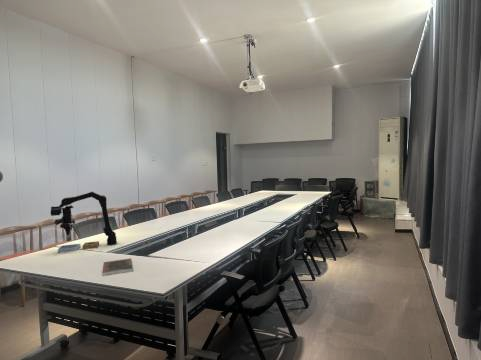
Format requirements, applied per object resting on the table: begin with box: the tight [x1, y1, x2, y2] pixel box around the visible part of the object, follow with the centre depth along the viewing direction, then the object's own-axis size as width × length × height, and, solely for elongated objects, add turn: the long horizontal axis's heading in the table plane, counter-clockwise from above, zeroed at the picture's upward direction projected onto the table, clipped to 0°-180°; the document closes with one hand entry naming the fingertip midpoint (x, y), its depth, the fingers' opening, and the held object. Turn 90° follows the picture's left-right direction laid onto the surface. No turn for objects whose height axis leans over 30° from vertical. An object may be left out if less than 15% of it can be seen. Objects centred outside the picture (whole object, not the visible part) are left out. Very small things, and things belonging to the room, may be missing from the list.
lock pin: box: [65, 230, 73, 242], centre depth 238 cm, size 4×4×10 cm
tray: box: [57, 243, 82, 254], centre depth 239 cm, size 13×11×3 cm
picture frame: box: [101, 258, 134, 277], centre depth 192 cm, size 16×2×22 cm
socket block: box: [82, 240, 100, 251], centre depth 243 cm, size 10×10×4 cm
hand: (68, 234), depth 238 cm, fingers closed on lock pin, 3 cm apart
